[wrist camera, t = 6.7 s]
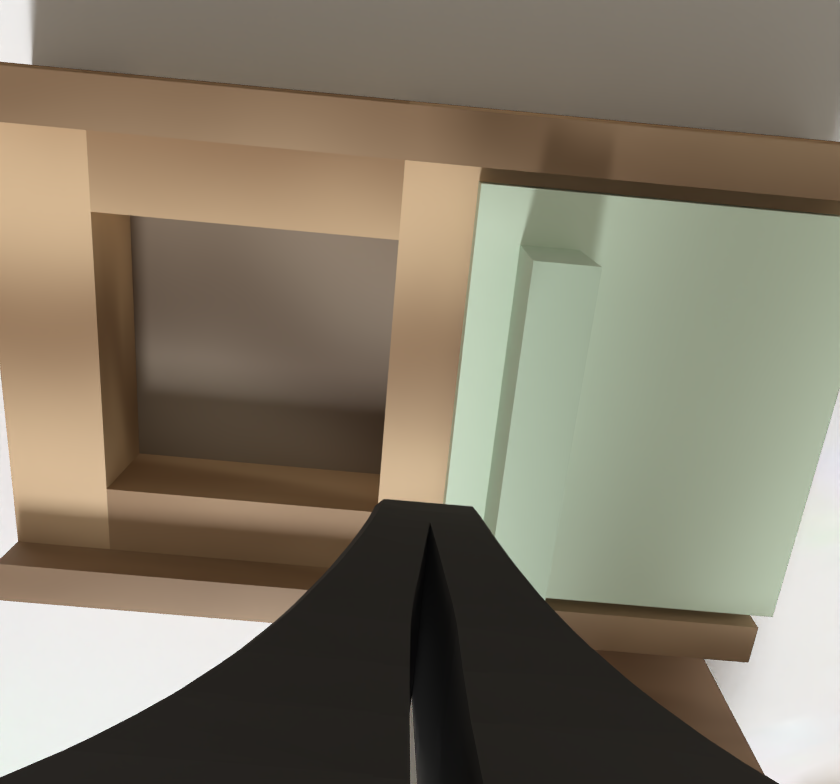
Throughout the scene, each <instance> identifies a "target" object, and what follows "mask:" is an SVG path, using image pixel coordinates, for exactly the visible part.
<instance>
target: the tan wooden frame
mask: <svg viewBox="0 0 840 784" xmlns="http://www.w3.org/2000/svg"><path fill="white" fill-rule="evenodd" d="M479 181H482V182H492V183H503V184H514V185H524V186H535V187H546V188H556V189H567V190H578V191H588V192H599V193H610V194H620V195H631V196H642V197H652V198H663V199H674V200H684V201H695V202H706V203H717V204H727V205H738V206H749V207H759V208H770V209H781V210H791V211H802V212H813V213H823V214H834V215H840V142H835V141H825V140H814V139H804V138H793V137H783V136H772V135H762V134H751V133H741V132H730V131H720V130H709V129H699V128H688V127H678V126H667V125H657V124H646V123H636V122H625V121H615V120H604V119H594V118H583V117H573V116H563V115H552V114H542V113H531V112H521V111H510V110H500V109H489V108H479V107H468V106H458V105H447V104H437V103H426V102H416V101H405V100H395V99H384V98H374V97H363V96H353V95H342V94H332V93H321V92H311V91H300V90H290V89H279V88H269V87H258V86H248V85H237V84H227V83H216V82H206V81H195V80H185V79H175V78H164V77H154V76H143V75H133V74H122V73H112V72H101V71H91V70H80V69H70V68H59V67H49V66H38V65H28V64H17V63H7V62H0V370H1V380H2V390H3V399H4V409H5V418H6V428H7V438H8V447H9V457H10V467H11V476H12V486H13V495H14V505H15V515H16V524H17V534H18V542H17V543H16V544H15V545H14V546H13V547H12V548H11V549H10V550H9V551H8V552H7V553H6V554H5V555H4V556H3V557H2V558H1V559H0V600H4V601H16V602H28V603H40V604H52V605H64V606H76V607H88V608H100V609H112V610H124V611H136V612H148V613H160V614H172V615H184V616H196V617H208V618H220V619H232V620H244V621H256V622H268V623H273V622H275V621H276V620H277V619H278V618H279V617H280V616H281V615H283V614H284V613H285V612H286V611H287V610H288V609H289V608H290V607H291V606H292V605H294V604H295V603H296V602H297V601H298V600H299V599H300V598H301V597H302V596H303V595H304V594H305V593H306V592H307V591H308V590H309V589H310V588H311V587H312V586H313V585H314V584H315V583H316V581H317V580H318V579H319V578H320V577H321V576H322V575H323V574H324V573H325V572H326V571H327V570H328V569H329V568H330V567H331V565H332V564H333V563H334V562H335V561H336V560H337V558H338V557H339V556H340V555H341V554H342V552H343V551H344V550H345V549H346V548H347V546H348V545H349V544H350V543H351V542H352V540H353V539H354V538H355V536H356V535H357V534H358V532H359V531H360V530H361V528H362V527H363V525H364V524H365V522H366V521H367V519H368V518H369V516H370V514H371V513H372V511H373V509H374V507H375V505H377V504H378V503H379V502H380V501H382V500H383V499H392V500H403V501H415V502H427V503H439V504H443V499H444V490H445V481H446V472H447V463H448V454H449V445H450V436H451V427H452V418H453V409H454V400H455V391H456V382H457V373H458V364H459V355H460V346H461V337H462V328H463V319H464V311H465V302H466V293H467V284H468V275H469V266H470V257H471V248H472V239H473V230H474V221H475V212H476V203H477V194H478V185H479ZM545 601H546V602H547V603H548V604H549V605H550V607H551V608H552V609H553V610H554V611H555V612H556V613H557V614H558V615H559V616H560V617H561V618H562V619H563V620H564V621H565V622H566V623H567V624H568V625H569V626H570V627H571V629H572V630H573V631H575V632H576V633H577V634H578V635H579V636H580V637H581V638H582V639H583V640H584V641H585V642H586V643H587V644H588V645H589V646H590V647H591V648H592V649H594V650H605V651H617V652H629V653H641V654H653V655H665V656H677V657H689V658H701V659H713V660H725V661H737V662H749V658H750V655H751V651H752V648H753V644H754V641H755V637H756V634H757V630H758V627H757V625H756V624H755V622H754V621H753V619H752V618H751V616H750V615H743V614H731V613H719V612H707V611H695V610H683V609H672V608H660V607H648V606H636V605H624V604H612V603H601V602H589V601H577V600H565V599H553V598H546V599H545Z"/></svg>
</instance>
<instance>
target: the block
mask: <svg viewBox="0 0 840 784" xmlns="http://www.w3.org/2000/svg"><path fill="white" fill-rule="evenodd" d="M595 651H596V652H597V653H598V654H599V655H601V656H602V657H603V658H604V659H605V660H606V661H607V662H609V663H610V664H611V665H612V666H613V667H614V668H615V669H617V670H618V671H619V672H620V673H621V674H622V675H623V676H625V677H626V678H627V679H628V680H629V681H631V682H632V683H633V684H634V685H636V686H637V687H638V688H639V689H641V690H642V691H643V692H644V693H646V694H647V695H648V696H650V697H651V698H652V699H653V700H655V701H656V702H657V703H659V704H660V705H662V706H663V707H664V708H666V709H667V710H668V711H670V712H671V713H673V714H674V715H675V716H677V717H678V718H679V719H681V720H682V721H684V722H685V723H686V724H688V725H689V726H691V727H692V728H693V729H695V730H696V731H697V732H699V733H700V734H702V735H703V736H704V737H706V738H707V739H709V740H710V741H712V742H713V743H715V744H717V745H718V746H720V747H721V748H723V749H724V750H726V751H727V752H729V753H730V754H732V755H733V756H735V757H736V758H738V759H739V760H741V761H742V762H744V763H746V764H747V765H749V766H751V767H752V768H754V769H755V770H757V771H759V772H760V773H762V774H764V773H763V771H762V769H761V767H760V765H759V763H758V762H757V760H756V758H755V756H754V754H753V752H752V750H751V748H750V746H749V744H748V742H747V741H746V739H745V737H744V735H743V733H742V731H741V729H740V727H739V725H738V723H737V722H736V720H735V718H734V716H733V714H732V712H731V710H730V708H729V706H728V704H727V703H726V701H725V699H724V697H723V695H722V693H721V691H720V689H719V687H718V685H717V683H716V682H715V680H714V678H713V676H712V674H711V672H710V670H709V668H708V666H707V664H706V663H705V661H704V659H701V658H689V657H677V656H665V655H653V654H641V653H629V652H617V651H605V650H595Z"/></svg>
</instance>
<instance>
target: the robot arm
mask: <svg viewBox="0 0 840 784" xmlns="http://www.w3.org/2000/svg"><path fill="white" fill-rule="evenodd" d="M411 698H412V705H413V722H414V739H415V755H416V771H417V784H779V783H777V782H775V781H774V780H772V779H770V778H769V777H767V776H765V775H764V774H762V773H760V772H759V771H757V770H755V769H754V768H752V767H751V766H749V765H747V764H746V763H744V762H742V761H741V760H739V759H738V758H736V757H735V756H733V755H732V754H730V753H729V752H727V751H726V750H724V749H723V748H721V747H720V746H718V745H717V744H715V743H713V742H712V741H710V740H709V739H707V738H706V737H704V736H703V735H702V734H700V733H699V732H697V731H696V730H695V729H693V728H692V727H691V726H689V725H688V724H686V723H685V722H684V721H682V720H681V719H679V718H678V717H677V716H675V715H674V714H673V713H671V712H670V711H668V710H667V709H666V708H664V707H663V706H662V705H660V704H659V703H657V702H656V701H655V700H653V699H652V698H651V697H650V696H648V695H647V694H646V693H644V692H643V691H642V690H641V689H639V688H638V687H637V686H636V685H634V684H633V683H632V682H631V681H629V680H628V679H627V678H626V677H625V676H623V675H622V674H621V673H620V672H619V671H618V670H617V669H615V668H614V667H613V666H612V665H611V664H610V663H609V662H607V661H606V660H605V659H604V658H603V657H602V656H601V655H599V654H598V653H597V652H596V651H595V650H594V649H592V648H591V647H590V646H589V645H588V644H587V643H586V642H585V641H584V640H583V639H582V638H581V637H580V636H579V635H578V634H577V633H576V632H575V631H573V630H572V629H571V627H570V626H569V625H568V624H567V623H566V622H565V621H564V620H563V619H562V618H561V617H560V616H559V615H558V614H557V613H556V612H555V611H554V610H553V609H552V608H551V607H550V605H549V604H548V603H547V602H546V601H545V600H544V599H543V598H542V597H541V596H540V594H539V593H538V592H537V591H536V590H535V588H534V587H533V586H532V585H531V583H530V582H529V581H528V580H527V579H526V577H525V576H524V575H523V574H522V572H521V571H520V570H519V569H518V567H517V566H516V565H515V564H514V562H513V561H512V560H511V558H510V557H509V556H508V554H507V553H506V552H505V550H504V549H503V548H502V546H501V545H500V543H499V542H498V541H497V539H496V538H495V536H494V535H493V534H492V532H491V531H490V529H489V528H488V526H487V525H486V524H485V522H484V521H483V519H482V518H481V516H480V515H479V514H478V512H477V511H476V510H475V509H474V507H473V506H462V505H450V504H439V503H427V502H415V501H403V500H392V499H383V500H382V501H380V502H379V503H378V504H377V505H375V507H374V509H373V511H372V513H371V514H370V516H369V518H368V519H367V521H366V522H365V524H364V525H363V527H362V528H361V530H360V531H359V532H358V534H357V535H356V536H355V538H354V539H353V540H352V542H351V543H350V544H349V545H348V546H347V548H346V549H345V550H344V551H343V552H342V554H341V555H340V556H339V557H338V558H337V560H336V561H335V562H334V563H333V564H332V565H331V567H330V568H329V569H328V570H327V571H326V572H325V573H324V574H323V575H322V576H321V577H320V578H319V579H318V580H317V581H316V583H315V584H314V585H313V586H312V587H311V588H310V589H309V590H308V591H307V592H306V593H305V594H304V595H303V596H302V597H301V598H300V599H299V600H298V601H297V602H296V603H295V604H294V605H292V606H291V607H290V608H289V609H288V610H287V611H286V612H285V613H284V614H283V615H281V616H280V617H279V618H278V619H277V620H276V621H275V622H273V623H272V624H271V625H270V626H269V627H268V628H266V629H265V630H264V631H263V632H261V633H260V634H259V635H258V636H256V637H255V638H254V639H253V640H251V641H250V642H249V643H248V644H246V645H245V646H244V647H243V648H241V649H240V650H239V651H237V652H236V653H234V654H233V655H232V656H230V657H229V658H227V659H226V660H224V661H223V662H222V663H220V664H219V665H217V666H216V667H214V668H212V669H211V670H209V671H208V672H206V673H205V674H203V675H202V676H200V677H199V678H197V679H196V680H194V681H193V682H191V683H190V684H188V685H186V686H185V687H183V688H182V689H180V690H179V691H177V692H175V693H174V694H172V695H170V696H168V697H167V698H165V699H163V700H161V701H159V702H158V703H156V704H154V705H152V706H150V707H149V708H147V709H145V710H143V711H142V712H140V713H138V714H136V715H134V716H132V717H130V718H128V719H126V720H124V721H122V722H121V723H119V724H117V725H115V726H113V727H111V728H109V729H107V730H105V731H103V732H101V733H99V734H97V735H95V736H93V737H91V738H89V739H87V740H85V741H83V742H81V743H78V744H76V745H74V746H72V747H70V748H68V749H66V750H64V751H61V752H59V753H57V754H54V755H52V756H50V757H47V758H45V759H43V760H40V761H38V762H36V763H33V764H31V765H28V766H26V767H24V768H21V769H19V770H17V771H14V772H12V773H10V774H7V775H5V776H3V777H0V784H410V727H409V712H410V705H411Z"/></svg>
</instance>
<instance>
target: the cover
mask: <svg viewBox="0 0 840 784" xmlns="http://www.w3.org/2000/svg"><path fill="white" fill-rule="evenodd" d="M839 389H840V215H834V214H823V213H813V212H802V211H791V210H781V209H770V208H759V207H749V206H738V205H727V204H717V203H706V202H695V201H684V200H674V199H663V198H652V197H642V196H631V195H620V194H610V193H599V192H588V191H578V190H567V189H556V188H546V187H535V186H524V185H514V184H503V183H492V182H482V181H479V185H478V194H477V203H476V212H475V221H474V230H473V239H472V248H471V257H470V266H469V275H468V284H467V293H466V302H465V311H464V319H463V328H462V337H461V346H460V355H459V364H458V373H457V382H456V391H455V400H454V409H453V418H452V427H451V436H450V445H449V454H448V463H447V472H446V481H445V490H444V499H443V504H450V505H462V506H473V507H474V509H475V510H476V511H477V512H478V514H479V515H480V516H481V518H482V519H483V521H484V522H485V524H486V525H487V526H488V528H489V529H490V531H491V532H492V534H493V535H494V536H495V538H496V539H497V541H498V542H499V543H500V545H501V546H502V548H503V549H504V550H505V552H506V553H507V554H508V556H509V557H510V558H511V560H512V561H513V562H514V564H515V565H516V566H517V567H518V569H519V570H520V571H521V572H522V574H523V575H524V576H525V577H526V579H527V580H528V581H529V582H530V583H531V585H532V586H533V587H534V588H535V590H536V591H537V592H538V593H539V594H540V596H541V597H542V598H543V599H544V600H545V599H546V598H553V599H565V600H577V601H589V602H601V603H612V604H624V605H636V606H648V607H660V608H672V609H683V610H695V611H707V612H719V613H731V614H743V615H755V616H766V617H773V613H774V610H775V607H776V603H777V600H778V596H779V593H780V590H781V586H782V583H783V579H784V576H785V572H786V569H787V566H788V562H789V559H790V555H791V552H792V549H793V545H794V542H795V538H796V535H797V532H798V528H799V525H800V521H801V518H802V515H803V511H804V508H805V504H806V501H807V498H808V494H809V491H810V487H811V484H812V481H813V477H814V474H815V470H816V467H817V464H818V460H819V457H820V453H821V450H822V446H823V443H824V440H825V436H826V433H827V429H828V426H829V423H830V419H831V416H832V412H833V409H834V406H835V402H836V399H837V395H838V392H839Z"/></svg>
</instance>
